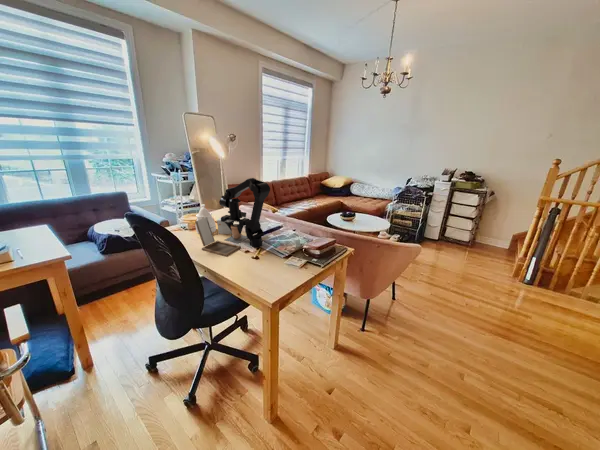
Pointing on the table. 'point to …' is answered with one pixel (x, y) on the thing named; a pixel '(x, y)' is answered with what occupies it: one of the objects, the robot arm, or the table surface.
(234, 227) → the terracotta pot
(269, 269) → the table surface
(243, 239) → the slate tile
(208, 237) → the propped lid
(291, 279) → the table surface
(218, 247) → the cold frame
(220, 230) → the small box
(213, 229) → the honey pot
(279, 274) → the table surface
